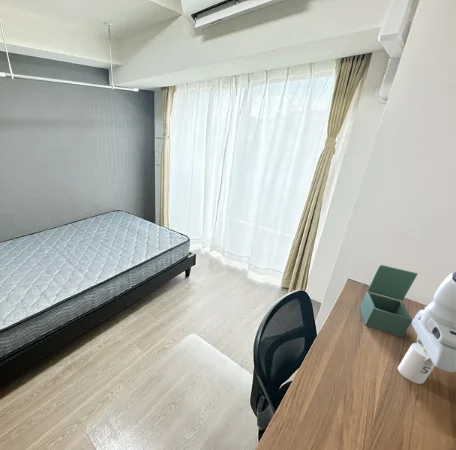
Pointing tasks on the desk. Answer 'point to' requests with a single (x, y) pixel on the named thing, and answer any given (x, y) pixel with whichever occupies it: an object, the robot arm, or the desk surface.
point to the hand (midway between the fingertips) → (422, 357)
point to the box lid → (392, 282)
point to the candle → (415, 364)
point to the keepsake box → (385, 314)
